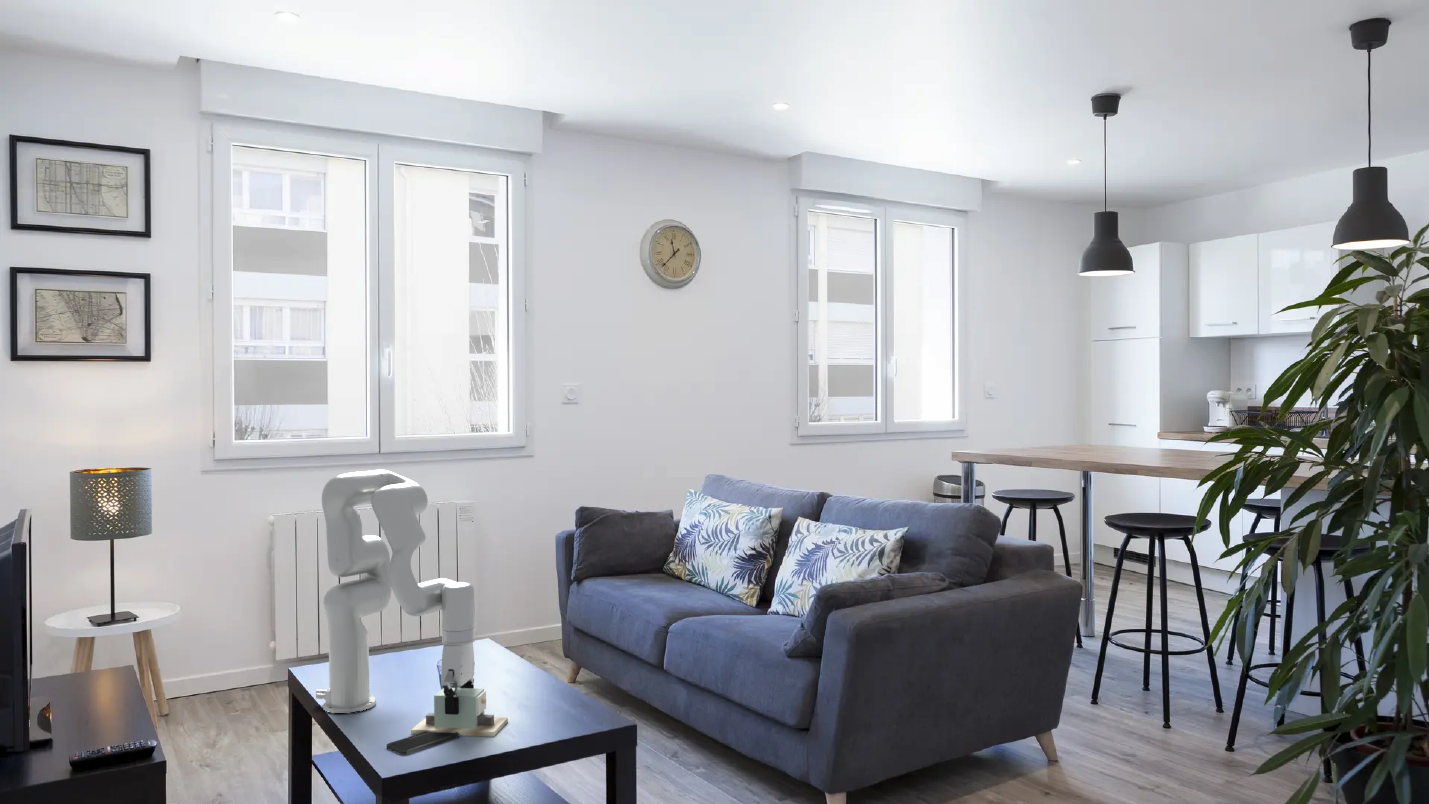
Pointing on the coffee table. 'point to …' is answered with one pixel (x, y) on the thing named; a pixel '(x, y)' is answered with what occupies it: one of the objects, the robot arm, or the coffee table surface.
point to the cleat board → (486, 727)
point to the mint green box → (460, 709)
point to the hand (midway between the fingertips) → (459, 707)
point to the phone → (421, 742)
